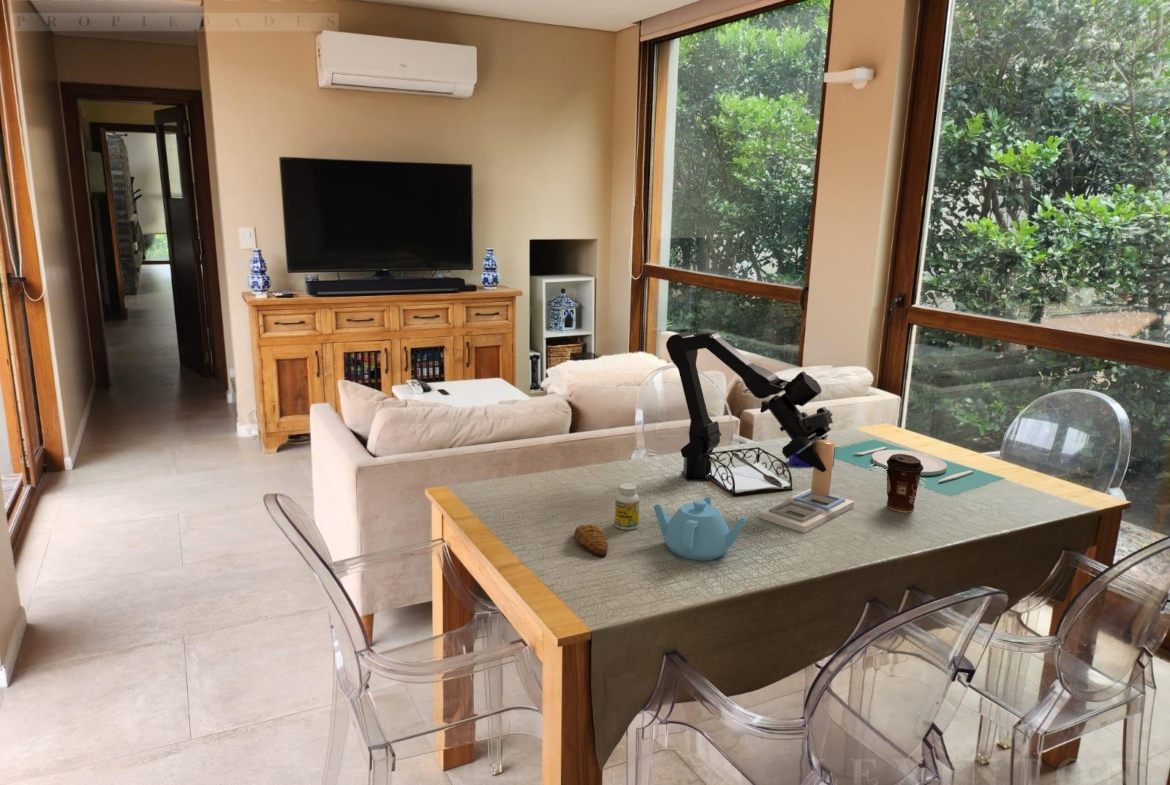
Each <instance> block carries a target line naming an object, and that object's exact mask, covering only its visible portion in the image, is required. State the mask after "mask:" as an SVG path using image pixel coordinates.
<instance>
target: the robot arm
mask: <svg viewBox="0 0 1170 785" xmlns="http://www.w3.org/2000/svg"><path fill="white" fill-rule="evenodd" d="M665 344H666V346H665V347H666V350H667V353H668V356H669V357H670V360H671V362H672V363H673V364H674V365H675V366H676V368H677V369H678V373H679V377H680V382H681V385H682V390H683V394H684V399H685V402H686V406H687V410H688V415H689V419H690V423H689V428H688V429H689V430H688V437H689V438H688V439H689V442H687V444H685V445H684V446H683V447H681V448H680V452H681V456H682V458H683V470H681V475H682V477H684V479H685V480H686V481H708V480H707V478H705V476H706V475H707V474H709V473H712V460H711V459H710V457H711V456H710V454H711V453H713V451H714V449H716V448H717V447H718V445H719V444H720V443H721V436H722V433H721V431H720V429H719V426H720V425H719V422H718V421H717V420H716V421H713V420H712V419H711V418H710V417H709V414H708V410H707V406H706V405H707V404H706V401H705V396H704V394H703V389H702V384H701V381H700V376H699V372H698V368H697V359H698V354H699V352H698V350H703V349H707V350H708V351H709V352H710V353H711V354H712V355H714V356H715V357H716V358H717V359H719V360H720V361H721V362H722V363H723V364H725V365H726V366H727V367H728V368H729V369H730V370H731V371H733V372H734V373H736V374H737V375H738V376H739V377H740V379H742V381H743V383H744V384H743V385H745V387H746V388H747V390H748V391H749V392H750V393H751V394H752V395H753V397H755V398H757V399H762V400H763V399H764V400H763V401H761V403H760V404H761V407H760V413H761V414H762V413H765V412H767V411H769V412H770V413H771V414H772V416H773V417H774V418H775V419H776V421H777V422H778V423H779V425H780V427H779V430H780V432H784V431H785V433H786V434H787V435H788V437H789V438H790V439H791V440H790V441H789V442H788V443H787V444H785V446H783V447H782V451H781V454H782V455H783V456H784V458H785V459H786V460H789V457H791V456H792V455H793V454H795V453H796V452H797V453H798V454H797V455H795V456H794V458H797V459H799V460H801V461H803V462H805V463H807V464H809V465H811V466H813V467H814V468H816V469H818V470H820V471H821V472H824V471H826V467H825V465H824V464H823V462H822V460H821V459H820V457H819V455H818V453H817V452H816V441H817V440H828V439H827V438H828V435H829V434H828V432H830V431H832V428H831V427H830V424H833V423H834V421H833V419H832V416H833V413H832V412H831V411H830V410H829V409H828V408H827V407H826V406H823V407H818V409H816V413H813V414H810V415H808V413H807V412H804V411H803V412H801V411H800V410H799V408H798V407H797V406H800V407H804V406H805V405H806V404H808V403H809V402H811V401H812V400H813V399H815V398H816V397H817V396H819V395H820V394H821V393H822V388H821V385H820V384H819V383H818V381H817V380H816V379H814V378H813V376H811V375H809V374H807V373H806V371H803V370H802V371H801V372H799V373H798V374H797V375H796V376H795V377H794V378H793V379H792V380H790V381H788V380H786V379H781V378H779V376H778V375H777V374H776V373H774V372H772V371H771V370H769V369H766V368H765V367H762V366H759V365H757V364H755V363H754V362H752V361H751V360H749V359H748V358H747V357H746V356H744V354H742V353H741V352H739V351H738V350H737V348H734V346H733V345H731V344H730V343H729V342H728V341H726V340H725V339H724V338H723V337H721V335H720V334H719V333H718V332H716V331H710V332H707V333H706V332H704V333H697V334H693V333H691V332H689V331H684V332H680V333H676V334H672V335H670V336H669V337H668V339H667V341H666V343H665ZM782 392H784V393H783V394H782V395H778V394H780V393H782ZM771 396H773V397H771ZM769 397H771V398H770V399H769V400H765V399H766V398H769ZM813 467H812V468H813Z"/></svg>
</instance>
